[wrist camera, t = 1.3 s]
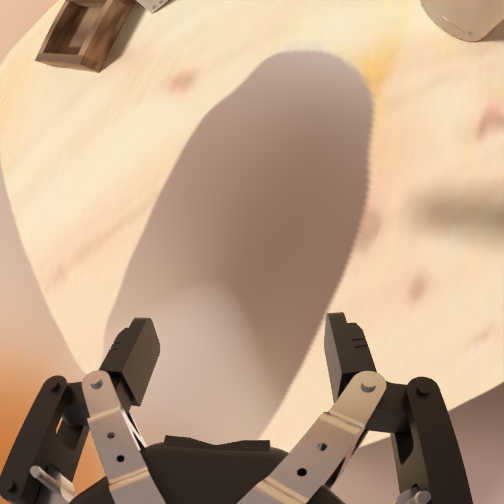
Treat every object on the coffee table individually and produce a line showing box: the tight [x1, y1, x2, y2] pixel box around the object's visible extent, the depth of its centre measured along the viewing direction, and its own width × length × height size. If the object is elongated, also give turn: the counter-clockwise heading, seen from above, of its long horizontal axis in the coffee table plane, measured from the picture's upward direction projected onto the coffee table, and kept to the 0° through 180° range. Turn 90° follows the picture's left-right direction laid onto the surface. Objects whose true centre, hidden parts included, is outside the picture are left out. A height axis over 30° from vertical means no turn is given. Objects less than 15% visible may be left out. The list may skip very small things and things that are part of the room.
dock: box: [35, 0, 135, 73], centre depth 28 cm, size 11×13×4 cm
